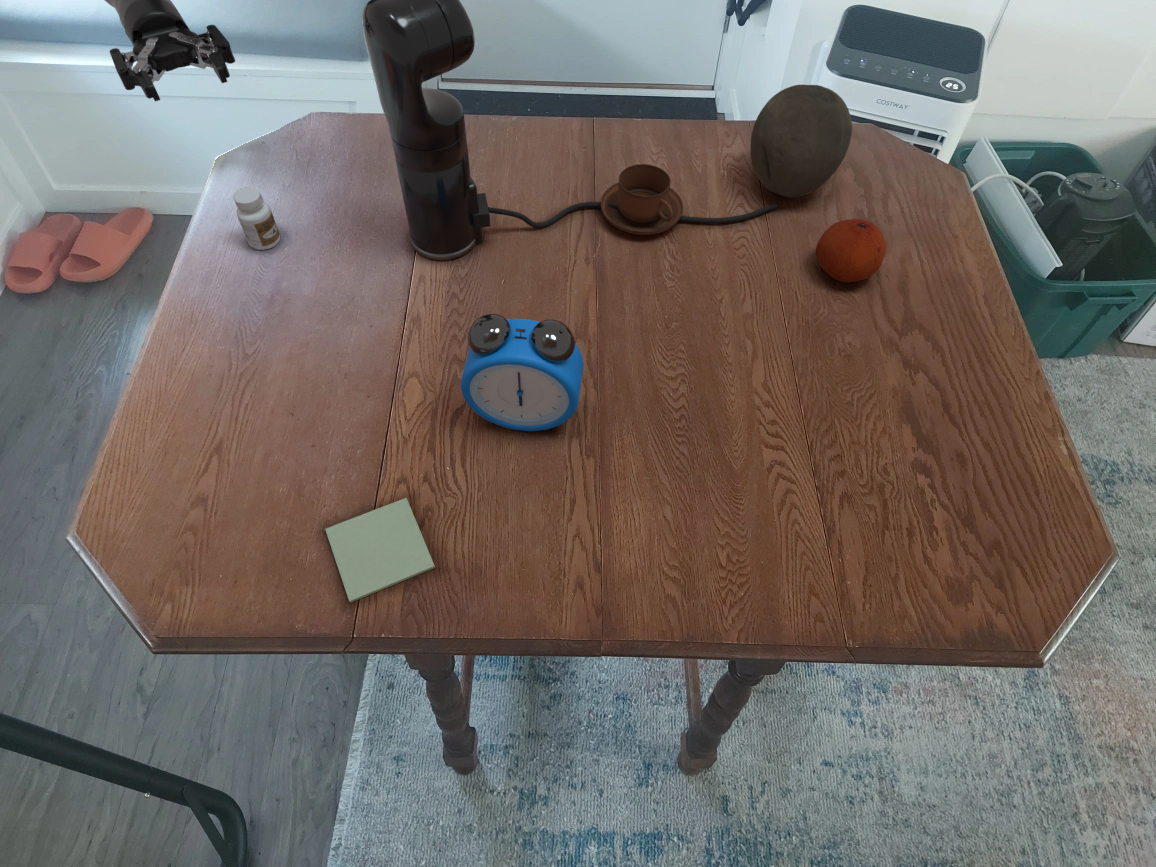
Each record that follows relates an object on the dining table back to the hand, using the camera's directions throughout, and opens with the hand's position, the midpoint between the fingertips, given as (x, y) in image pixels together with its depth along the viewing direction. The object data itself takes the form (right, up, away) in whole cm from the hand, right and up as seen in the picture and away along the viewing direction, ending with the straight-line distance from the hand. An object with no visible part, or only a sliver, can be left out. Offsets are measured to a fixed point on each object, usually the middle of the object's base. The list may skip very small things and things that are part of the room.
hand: (189, 85), depth 96 cm
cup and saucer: (+59, -12, +15) cm, 62 cm away
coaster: (+29, -57, -17) cm, 66 cm away
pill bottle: (+6, -17, +10) cm, 21 cm away
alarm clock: (+43, -42, -6) cm, 61 cm away
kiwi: (+82, -6, +20) cm, 84 cm away
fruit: (+86, -22, +9) cm, 90 cm away
